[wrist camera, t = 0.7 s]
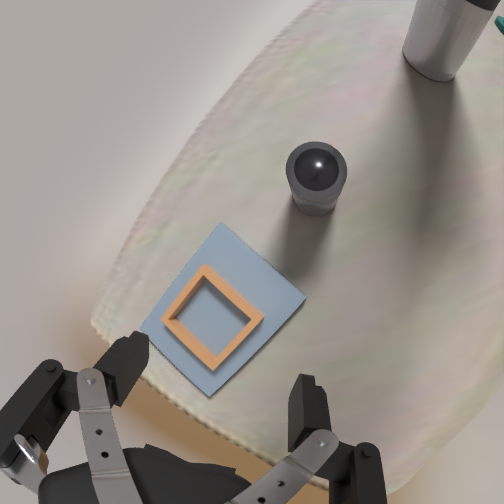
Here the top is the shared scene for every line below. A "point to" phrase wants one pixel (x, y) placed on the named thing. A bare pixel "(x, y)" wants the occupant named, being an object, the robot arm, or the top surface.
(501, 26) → the bracket
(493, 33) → the top surface
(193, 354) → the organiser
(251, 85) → the top surface
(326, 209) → the grey capped cylinder
